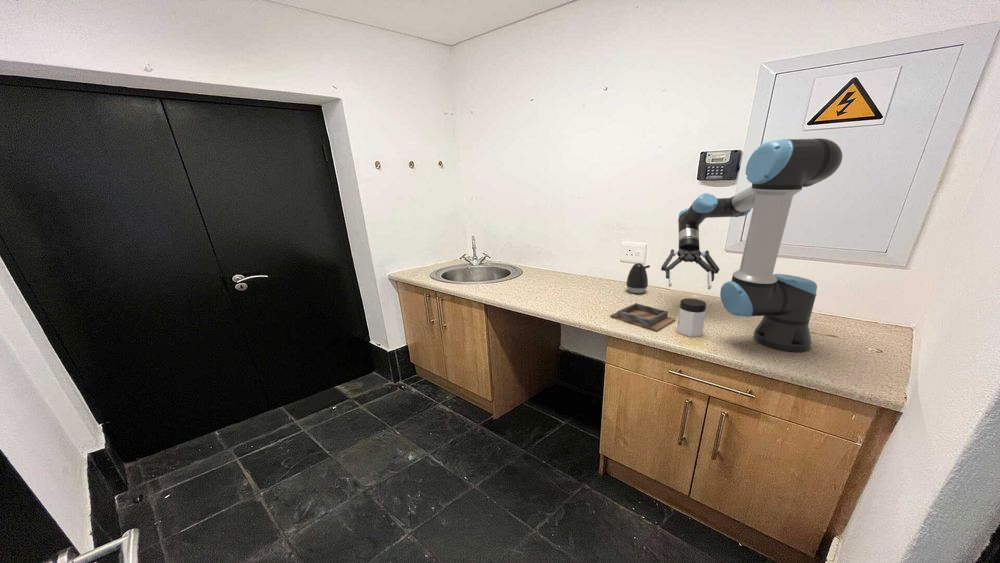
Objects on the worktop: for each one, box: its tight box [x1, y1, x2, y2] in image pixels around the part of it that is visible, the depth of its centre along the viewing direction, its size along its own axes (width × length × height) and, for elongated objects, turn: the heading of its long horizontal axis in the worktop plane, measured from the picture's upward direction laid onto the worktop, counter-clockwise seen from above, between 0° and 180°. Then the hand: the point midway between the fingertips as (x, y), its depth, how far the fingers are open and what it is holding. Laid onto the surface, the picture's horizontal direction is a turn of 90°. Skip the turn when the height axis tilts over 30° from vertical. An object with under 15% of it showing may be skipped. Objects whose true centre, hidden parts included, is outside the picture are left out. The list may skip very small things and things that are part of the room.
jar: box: [676, 297, 707, 338], centre depth 122 cm, size 9×8×12 cm
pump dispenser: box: [625, 262, 651, 294], centre depth 168 cm, size 10×10×15 cm
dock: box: [610, 302, 676, 333], centre depth 137 cm, size 20×15×4 cm
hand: (689, 286), depth 129 cm, fingers open, 13 cm apart
